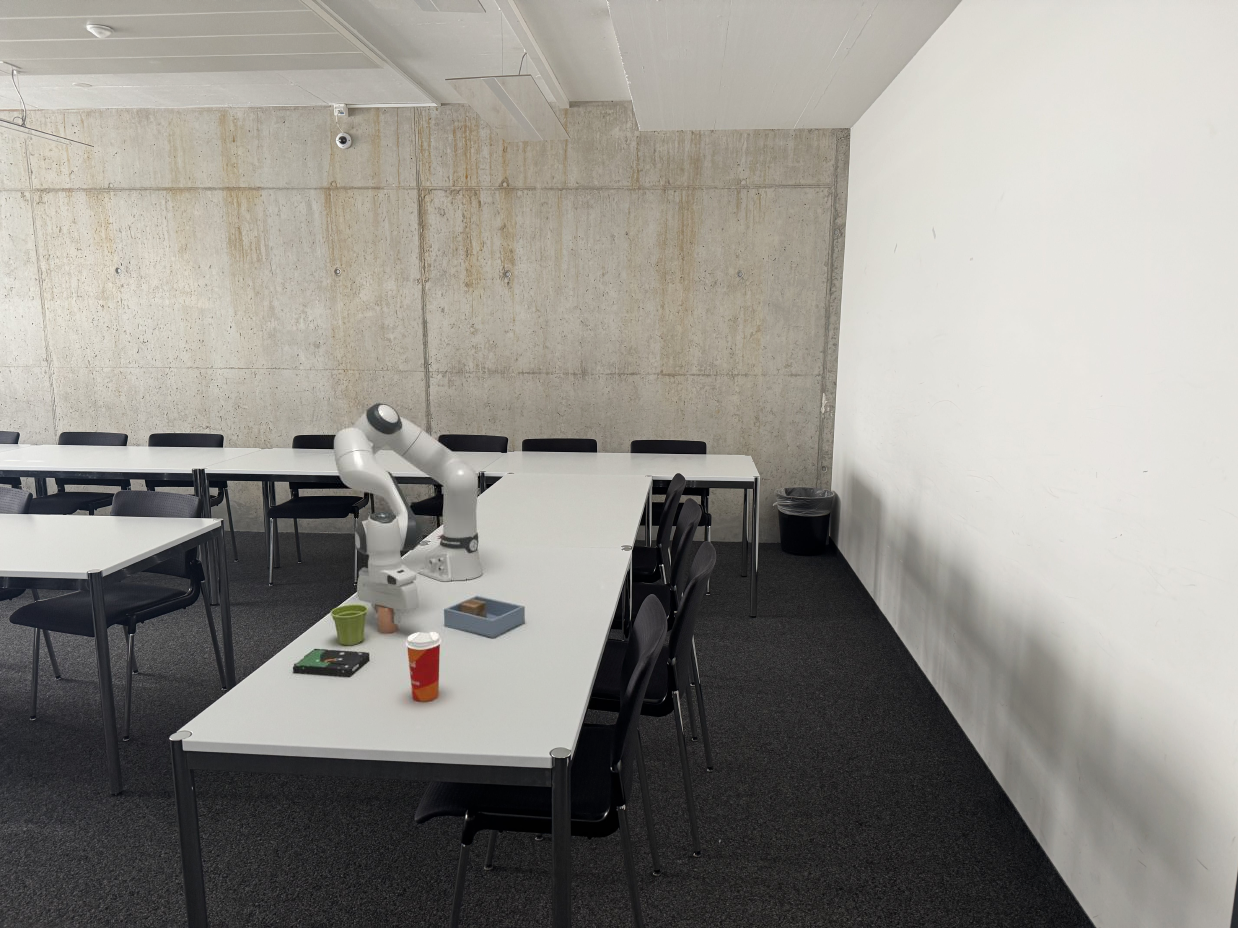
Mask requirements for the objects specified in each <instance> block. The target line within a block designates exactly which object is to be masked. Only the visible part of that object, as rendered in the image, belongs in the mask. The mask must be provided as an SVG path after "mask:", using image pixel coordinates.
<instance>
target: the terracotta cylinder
mask: <svg viewBox="0 0 1238 928" xmlns="http://www.w3.org/2000/svg"><path fill="white" fill-rule="evenodd" d="M377 608H378V619H377V623H378V624H377V626H378V633H379V634H392V633H393V634H394V633H395V632H397V631H398V624H394V623H392V620H391V617H394V615H395V612H394V610H393V609H392V608H388V607H384V606H380V605H378V606H377Z"/></svg>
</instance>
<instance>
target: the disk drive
mask: <svg viewBox="0 0 1238 928" xmlns="http://www.w3.org/2000/svg"><path fill="white" fill-rule="evenodd" d="M369 662H370V652H365V651H354V650H351V651H350V650H339V649H338V650H337V649H326V648H314V649H313V650H311V651H310V652H308V653H307V654H304V656H303V657H302V658H301V659H299V660H298V661H297V662H295V663H294V664H293V666H292V673H293V674H300V675H310V676H311V675H313V676H325V677H326V676H327V677H339V678H351V677H353V675H354V674H356V673H358V672H359V671H360V670H361V669H362V668H363V667H364V666H365V665H367V664H368V663H369Z"/></svg>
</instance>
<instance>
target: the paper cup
mask: <svg viewBox="0 0 1238 928" xmlns="http://www.w3.org/2000/svg"><path fill="white" fill-rule="evenodd" d="M441 643H442V639H441V637H440V635H439V633H437V632H435V631H430V632H429V631H423V632H421V631H418V632H414V633H412V634H410V635H409V636H408V637H407V641H406V642H405V646H406V648H407V658H408V667H409V676H410V677H409V678H410V685H411V695H412V699H413V701H415V702H420V703H425V702H426V703H427V702H432V701H434V700H436V699H437V698H438V697H439V688H440V687H439V685H440V684H439V683H440V656H441V655H440V653H441V652H440V650H441V649H440V648H441Z"/></svg>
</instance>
